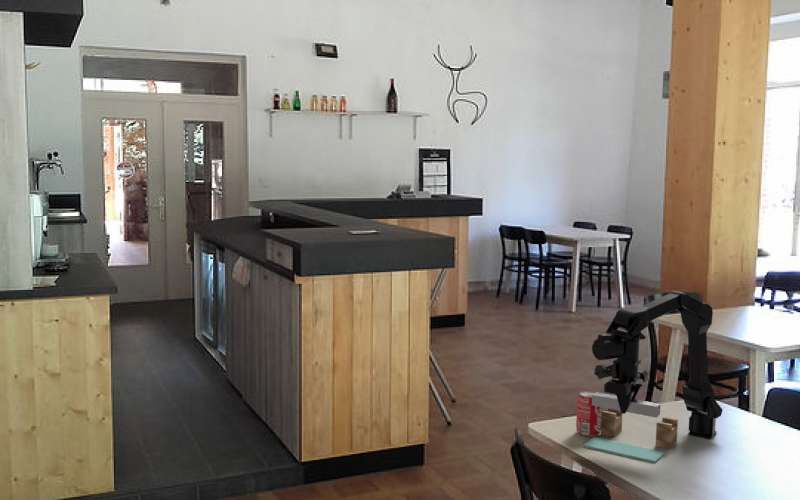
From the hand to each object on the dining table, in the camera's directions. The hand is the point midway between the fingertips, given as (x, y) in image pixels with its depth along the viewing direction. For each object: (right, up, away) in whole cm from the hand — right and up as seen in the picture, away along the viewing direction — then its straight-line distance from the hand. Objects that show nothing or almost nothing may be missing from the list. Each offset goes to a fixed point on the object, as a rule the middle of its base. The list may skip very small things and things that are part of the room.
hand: (625, 411), depth 220 cm
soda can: (-7, -10, +14) cm, 18 cm away
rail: (0, 0, 0) cm, 1 cm away
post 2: (+13, -10, +6) cm, 18 cm away
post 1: (0, -9, +16) cm, 18 cm away
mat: (0, -11, +1) cm, 11 cm away
